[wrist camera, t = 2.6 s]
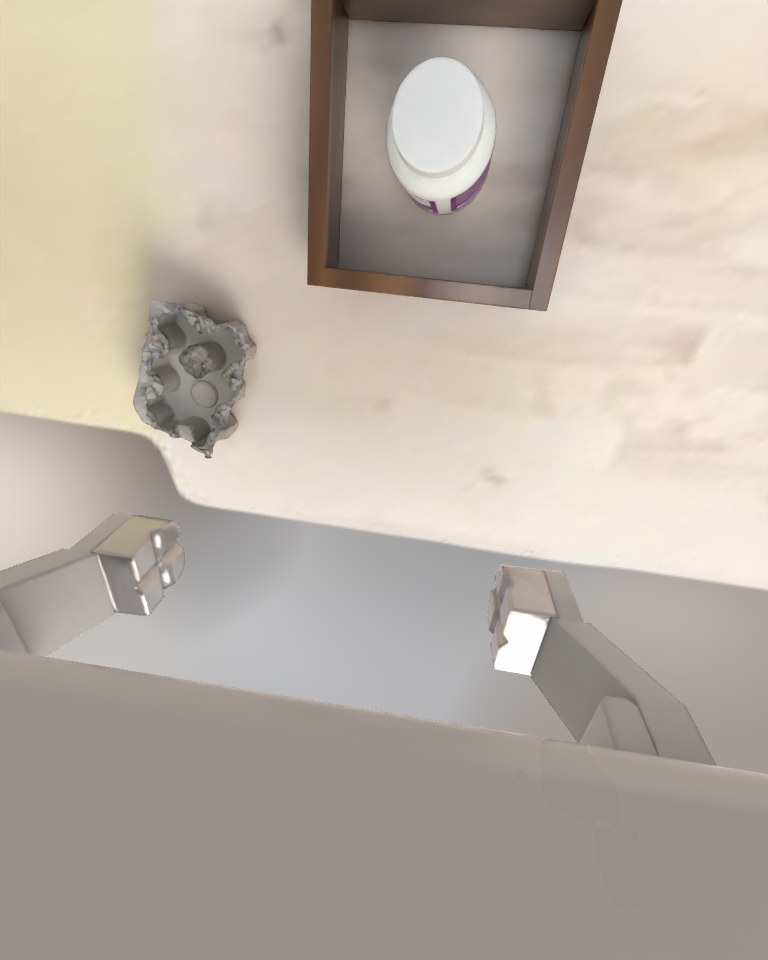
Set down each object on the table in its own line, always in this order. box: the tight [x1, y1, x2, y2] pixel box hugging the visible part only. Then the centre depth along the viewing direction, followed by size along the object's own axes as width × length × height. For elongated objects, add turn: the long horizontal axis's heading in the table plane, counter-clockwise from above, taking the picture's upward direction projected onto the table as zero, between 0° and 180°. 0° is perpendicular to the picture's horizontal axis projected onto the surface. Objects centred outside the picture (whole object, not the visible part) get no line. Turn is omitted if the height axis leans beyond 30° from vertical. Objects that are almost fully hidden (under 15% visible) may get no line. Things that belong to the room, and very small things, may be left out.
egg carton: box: [133, 299, 256, 458], centre depth 34 cm, size 11×8×4 cm
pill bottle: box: [386, 57, 496, 215], centre depth 23 cm, size 5×5×10 cm
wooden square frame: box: [307, 0, 622, 311], centre depth 25 cm, size 15×15×4 cm
